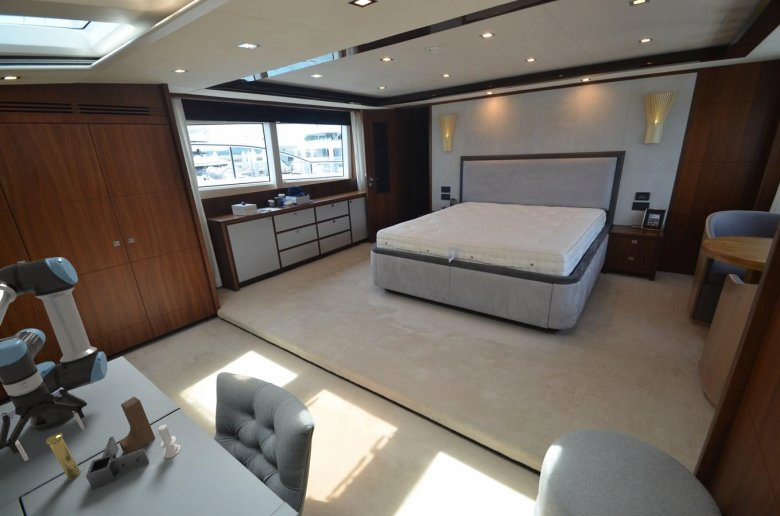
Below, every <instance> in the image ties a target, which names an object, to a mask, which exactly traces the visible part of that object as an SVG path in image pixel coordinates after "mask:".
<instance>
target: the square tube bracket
mask: <svg viewBox="0 0 780 516" xmlns="http://www.w3.org/2000/svg"><path fill="white" fill-rule="evenodd" d="M119 450H120V448H119V446H118V444H117V441H116V440H115V437H114V436H110V437H109V438H108V440H107V444H106V446H105V448H104V450H103V453H102V456H101V457H99V458H96V459H94V460H92V461H91V463H90V465H89V468H88V470H87V473H86V475H85V478H86V480H87V481H88V483H89V485H90V487H91V490H95V489H98V488H101V487H104V486H106V485H108V484H111V483H114V482H116V481H117V477H118V475H121V474H123V472H124V473H125V472H128V470H129V471H131V469H132V470H134V469H137V468H139V466H140V467H142V465H143V466H146V465H148V464H150V462H149V461H150V458H149V456H148V454H147V452H146V449H145V447H142V448H140V449H139V450H137V451H134V452H131V453H128V454H124V455H120V456H118V457H117V455H118V453H119Z"/></svg>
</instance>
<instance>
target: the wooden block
mask: <svg viewBox="0 0 780 516" xmlns="http://www.w3.org/2000/svg"><path fill="white" fill-rule="evenodd" d="M120 406H121V408H122V411H123V413H124V416H125V418H126V420H127V423H128V424H129V432H128V434H127V435H126V436H125V437H124V438H123V439H121V440H120V441H119V446H120V448H121V450H122V453H124V455H126V454H128V453H131V452H134V451H137V450H140V449H143V448H144V447H145V446H146V445H148V444H149V443H151V442H152V441H153V440H155V439H156V436H155V434H154V431H153V428H152V426H151V423H150V421H149V419H148V416H147V414H146V412H145V409H144V406H143V404H142V402H141V400H140V399H138V398H137V396H132V397H131V398H129V399H127V400H125V401H124V402H122V403H121V404H120Z"/></svg>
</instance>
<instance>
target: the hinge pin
mask: <svg viewBox="0 0 780 516" xmlns="http://www.w3.org/2000/svg"><path fill="white" fill-rule="evenodd" d="M63 435H64V434H63V433H62V432H57V433H54V434H52V435H50V436H49V437H48V438H47V439H46V440H45V443H46V445H49V447H50V449H51V451H52V453H53V455H54V456H55V458H56V460H57V461H58V463H59V466H61V468H62V470H63V472H64V474H65V476H66V478H67V479H68V480H69V481H70V480H73V479H76V478H77V477H78V476H80V474H81V470H80V468H79V466H78V464H77V462H76V461H75V458H74V457H73V455H72V453H71V451H70V449H69V448H68V446H67V443H66V441H65V440H64V439H63V438H64V436H63Z"/></svg>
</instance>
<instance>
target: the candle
mask: <svg viewBox="0 0 780 516" xmlns="http://www.w3.org/2000/svg"><path fill="white" fill-rule="evenodd" d="M158 435H159V437H161V439H162V441H161V442H160V447H161V448H165V449H164V453H163V455H162V456H163V457H164V458H165V459H170V458H173V457H175V456H177V454H179V452H180V451H181V448H182V447H181V445H180V444H176V443H175V442H176V440H177V436H175V435H172V434H171V432H170V429H169V428H168V425H167V424H165V423H164V424H162V425H160V426H159V428H158Z"/></svg>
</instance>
